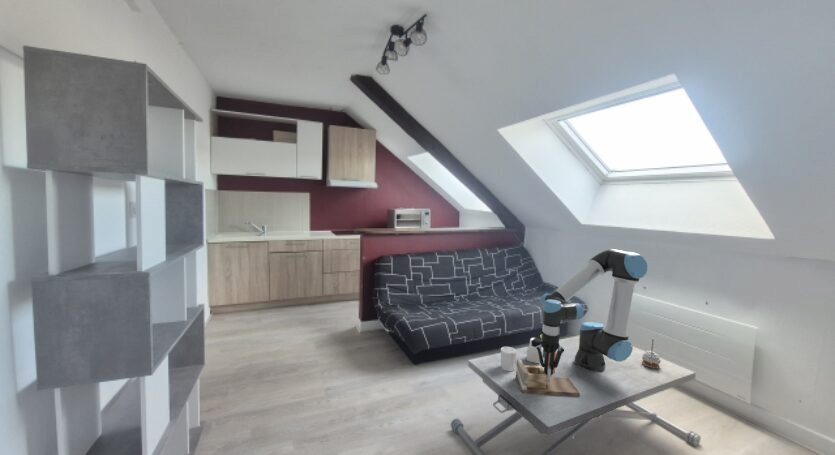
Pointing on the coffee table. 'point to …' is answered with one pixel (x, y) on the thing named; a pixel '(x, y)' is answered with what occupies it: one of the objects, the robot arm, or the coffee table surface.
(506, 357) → the white cup
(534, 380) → the open wooden box
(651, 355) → the cupcake with stick
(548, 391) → the board
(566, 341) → the coffee table surface
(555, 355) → the dowel
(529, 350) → the medicine bottle
